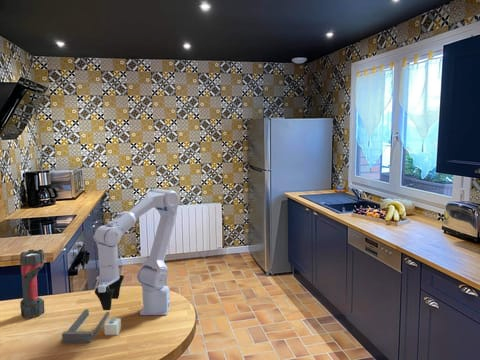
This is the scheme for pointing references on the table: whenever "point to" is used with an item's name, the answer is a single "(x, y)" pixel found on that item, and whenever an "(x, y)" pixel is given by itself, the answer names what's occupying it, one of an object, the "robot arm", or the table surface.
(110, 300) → the robot arm
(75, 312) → the table surface
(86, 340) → the rail
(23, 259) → the flashlight
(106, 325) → the block
